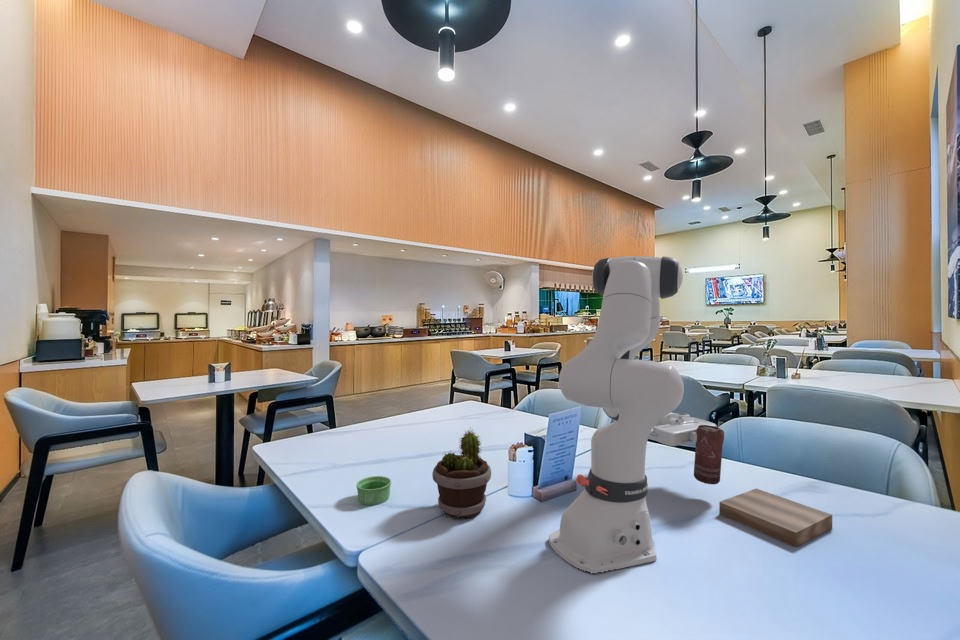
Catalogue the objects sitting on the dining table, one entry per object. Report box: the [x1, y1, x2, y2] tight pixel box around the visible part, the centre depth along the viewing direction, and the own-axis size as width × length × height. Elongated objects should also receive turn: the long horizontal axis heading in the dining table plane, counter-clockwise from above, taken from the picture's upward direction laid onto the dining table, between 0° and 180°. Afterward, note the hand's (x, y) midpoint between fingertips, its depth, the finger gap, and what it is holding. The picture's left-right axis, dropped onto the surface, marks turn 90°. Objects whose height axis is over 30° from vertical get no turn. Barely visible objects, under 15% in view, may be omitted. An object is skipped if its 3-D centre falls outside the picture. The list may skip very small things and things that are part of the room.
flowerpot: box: [431, 426, 492, 520], centre depth 100 cm, size 14×15×20 cm
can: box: [693, 425, 725, 485], centre depth 106 cm, size 6×6×14 cm
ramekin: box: [356, 475, 392, 506], centre depth 107 cm, size 9×9×4 cm
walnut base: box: [718, 488, 833, 548], centre depth 94 cm, size 16×16×3 cm
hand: (713, 439), depth 105 cm, fingers closed, pressing on can
